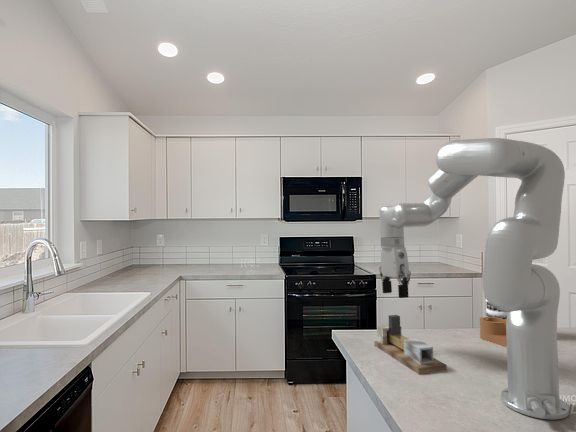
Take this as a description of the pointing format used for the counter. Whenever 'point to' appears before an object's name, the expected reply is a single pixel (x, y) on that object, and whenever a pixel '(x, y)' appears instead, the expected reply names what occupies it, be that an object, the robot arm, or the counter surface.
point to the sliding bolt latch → (410, 353)
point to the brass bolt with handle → (395, 332)
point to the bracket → (493, 330)
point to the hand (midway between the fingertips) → (395, 295)
